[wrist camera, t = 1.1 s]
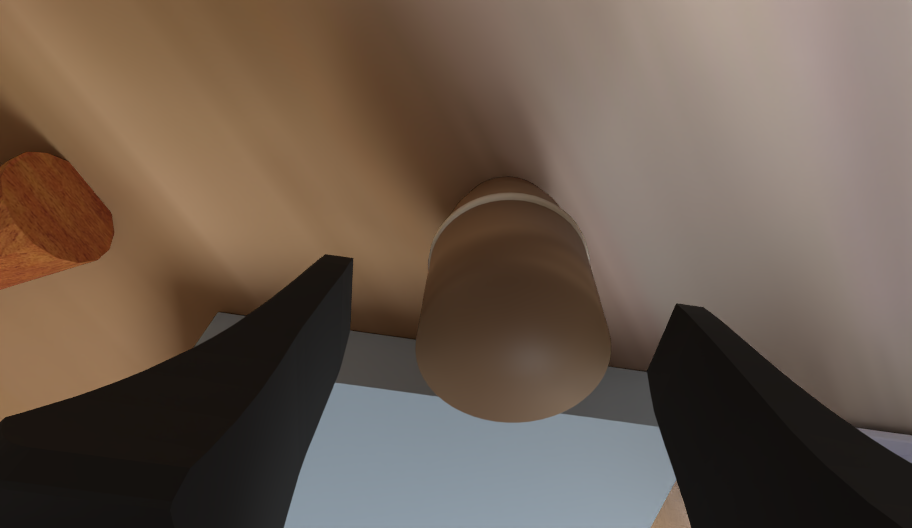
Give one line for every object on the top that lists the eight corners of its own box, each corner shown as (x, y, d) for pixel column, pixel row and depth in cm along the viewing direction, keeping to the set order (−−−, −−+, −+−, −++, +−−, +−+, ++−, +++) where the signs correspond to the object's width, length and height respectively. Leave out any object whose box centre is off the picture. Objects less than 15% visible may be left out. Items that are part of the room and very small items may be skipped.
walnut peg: (591, 166, 16) (640, 288, 10) (557, 286, 18) (584, 435, 13) (446, 144, 15) (423, 256, 10) (429, 268, 18) (404, 410, 12)
